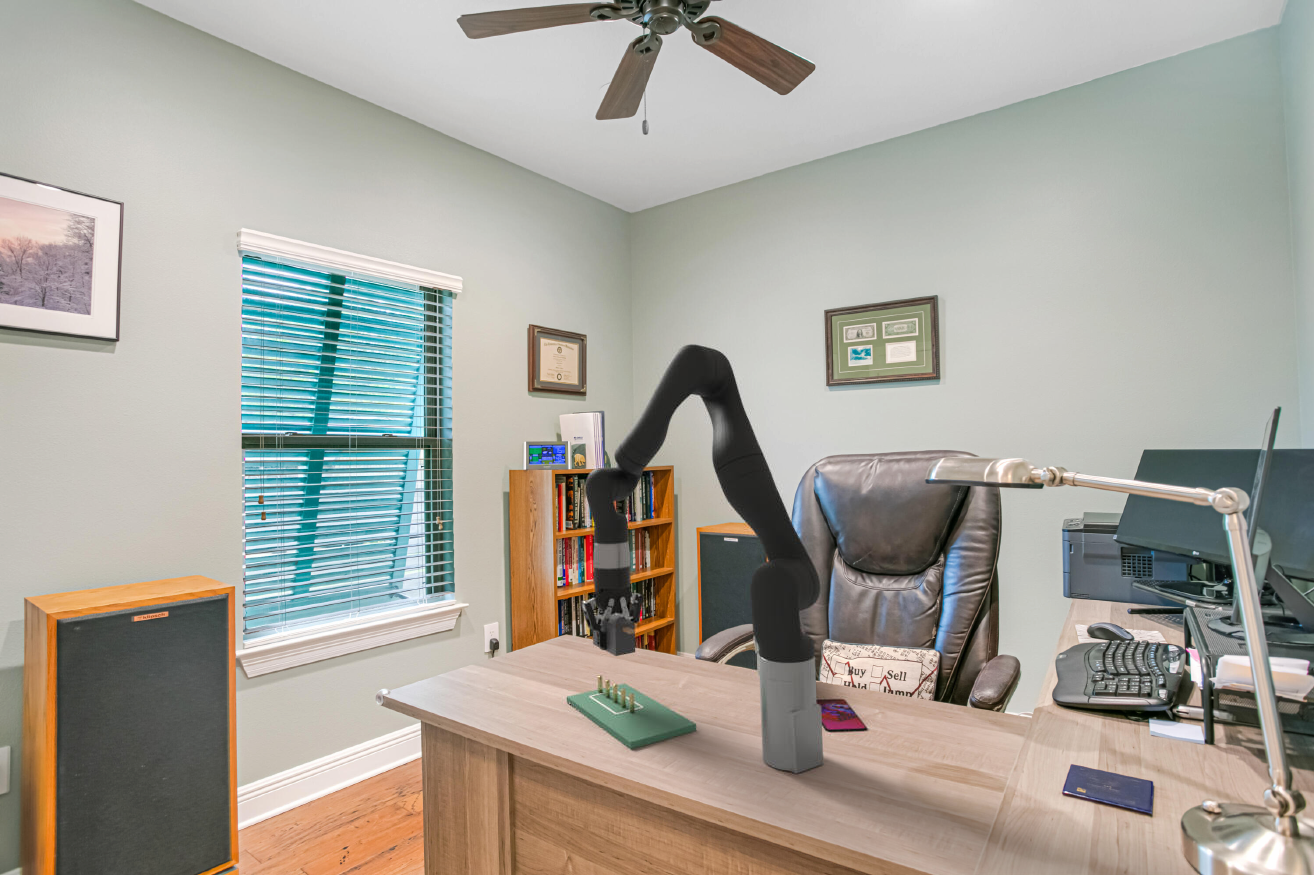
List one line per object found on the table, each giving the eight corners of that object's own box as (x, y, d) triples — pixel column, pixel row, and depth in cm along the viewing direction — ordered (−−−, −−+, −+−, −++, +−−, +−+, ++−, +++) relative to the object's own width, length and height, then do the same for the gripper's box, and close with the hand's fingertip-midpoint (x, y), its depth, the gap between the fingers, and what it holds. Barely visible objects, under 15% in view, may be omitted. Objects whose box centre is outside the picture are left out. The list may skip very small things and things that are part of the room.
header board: (696, 730, 124) (696, 723, 124) (630, 749, 117) (630, 741, 117) (624, 688, 148) (624, 682, 148) (566, 702, 140) (566, 696, 140)
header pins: (635, 712, 130) (635, 694, 130) (631, 713, 130) (630, 695, 130) (601, 691, 143) (601, 674, 143) (597, 692, 143) (596, 675, 143)
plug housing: (642, 655, 131) (641, 625, 131) (623, 659, 129) (622, 628, 129) (611, 640, 143) (611, 612, 143) (593, 644, 140) (592, 615, 140)
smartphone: (826, 729, 121) (806, 699, 136) (826, 734, 121) (807, 703, 136) (868, 728, 121) (844, 698, 136) (868, 733, 121) (844, 702, 136)
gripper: (588, 570, 131) (590, 657, 130) (650, 562, 138) (652, 645, 137) (572, 565, 137) (574, 648, 136) (633, 558, 144) (635, 637, 144)
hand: (613, 646), depth 137 cm, fingers closed on plug housing, 4 cm apart
